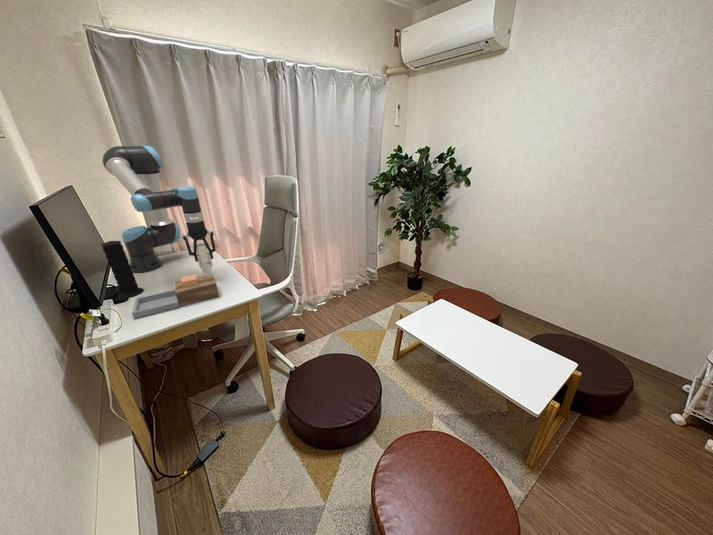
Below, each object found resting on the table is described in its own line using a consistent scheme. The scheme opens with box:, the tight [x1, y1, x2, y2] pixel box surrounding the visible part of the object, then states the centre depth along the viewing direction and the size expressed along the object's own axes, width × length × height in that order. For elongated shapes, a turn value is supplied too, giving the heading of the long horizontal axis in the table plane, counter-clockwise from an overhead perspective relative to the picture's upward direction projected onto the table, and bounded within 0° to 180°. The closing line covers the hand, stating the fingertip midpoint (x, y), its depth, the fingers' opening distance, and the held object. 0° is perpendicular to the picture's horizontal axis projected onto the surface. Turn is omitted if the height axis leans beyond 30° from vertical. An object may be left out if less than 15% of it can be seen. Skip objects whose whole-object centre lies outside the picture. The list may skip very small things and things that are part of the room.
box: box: [131, 289, 181, 320], centre depth 121 cm, size 14×16×3 cm
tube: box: [197, 242, 213, 275], centre depth 138 cm, size 4×4×15 cm
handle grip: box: [100, 240, 145, 300], centre depth 127 cm, size 10×26×10 cm
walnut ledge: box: [174, 273, 220, 308], centre depth 127 cm, size 12×16×7 cm
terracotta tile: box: [180, 273, 198, 288], centre depth 124 cm, size 6×6×3 cm
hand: (206, 265), depth 139 cm, fingers closed on tube, 4 cm apart
